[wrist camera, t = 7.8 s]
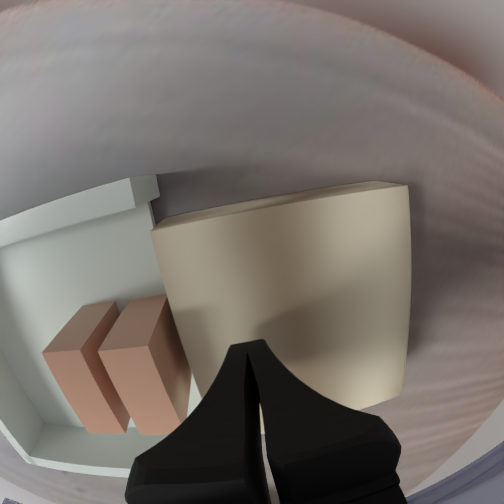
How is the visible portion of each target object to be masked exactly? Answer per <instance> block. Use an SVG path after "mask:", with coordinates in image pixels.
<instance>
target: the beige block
mask: <svg viewBox="0 0 504 504" xmlns="http://www.w3.org/2000/svg"><path fill="white" fill-rule="evenodd" d="M150 235H151V239H152V243H153V247H154V250H155V254H156V258H157V262H158V266H159V269H160V273H161V277H162V280H163V284H164V287H165V291H166V294H167V298H168V301H169V304H170V308H171V311H172V314H173V317H174V321H175V324H176V327H177V330H178V333H179V336H180V339H181V342H182V345H183V348H184V351H185V354H186V357H187V360H188V363H189V366H190V369H191V371H192V374H193V377H194V380H195V382H196V385H197V388H198V390H199V393H200V396H201V398H202V399H203V397H204V396H205V394H206V393H207V391H208V390H209V388H210V386H211V385H212V383H213V381H214V379H215V378H216V376H217V374H218V372H219V370H220V368H221V366H222V363H223V361H224V359H225V356H226V354H227V351H228V348H229V346H230V345H232V344H237V343H243V342H248V341H253V340H258V339H264V340H265V341H266V343H267V344H268V346H269V348H270V349H271V351H272V352H273V353H274V354H275V356H276V357H277V358H278V359H279V360H280V361H281V362H282V363H283V365H284V366H285V367H286V368H287V369H288V370H289V371H290V372H292V373H293V374H294V375H295V376H296V377H297V378H298V379H300V380H301V381H302V382H304V383H305V384H306V385H308V386H309V387H310V388H312V389H313V390H315V391H317V392H318V393H320V394H321V395H323V396H325V397H327V398H329V399H331V400H333V401H335V402H337V403H339V404H341V405H343V406H346V407H349V408H351V409H354V410H360V409H363V408H366V407H369V406H372V405H375V404H378V403H381V402H384V401H386V400H389V399H392V398H394V397H397V396H400V395H401V393H402V386H403V379H404V372H405V364H406V355H407V346H408V335H409V322H410V304H411V225H410V208H409V194H408V185H402V184H395V183H388V182H381V181H369V182H362V183H355V184H348V185H341V186H334V187H328V188H321V189H315V190H308V191H302V192H296V193H290V194H284V195H279V196H273V197H267V198H262V199H256V200H251V201H245V202H240V203H235V204H230V205H225V206H220V207H215V208H210V209H205V210H200V211H195V212H190V213H185V214H181V215H176V216H172V217H167V218H164V219H163V220H162V221H161V222H160V223H159V224H157V225H156V226H155V227H154V228H153V229H152V230H151V231H150ZM260 421H261V434H265V432H264V424H263V416H262V410H261V406H260Z"/></svg>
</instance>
